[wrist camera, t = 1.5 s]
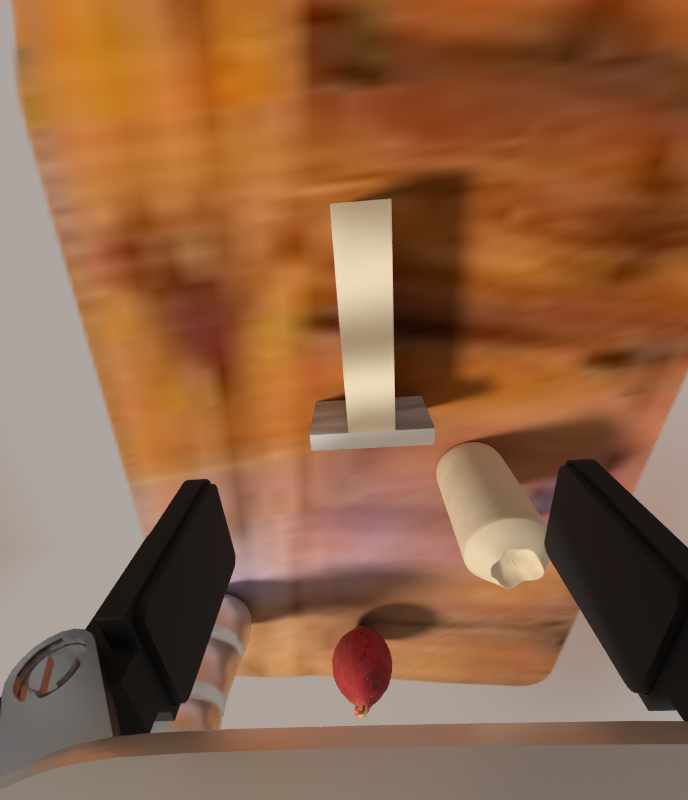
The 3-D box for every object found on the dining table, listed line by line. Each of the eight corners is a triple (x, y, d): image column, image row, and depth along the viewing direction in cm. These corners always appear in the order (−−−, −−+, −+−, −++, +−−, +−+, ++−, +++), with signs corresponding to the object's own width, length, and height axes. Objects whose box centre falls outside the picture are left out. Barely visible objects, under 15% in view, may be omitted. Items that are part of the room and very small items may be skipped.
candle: (513, 448, 30) (584, 546, 21) (487, 500, 32) (540, 609, 23) (448, 434, 29) (492, 528, 20) (426, 488, 31) (456, 594, 22)
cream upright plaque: (293, 211, 23) (279, 208, 18) (424, 200, 22) (443, 194, 18) (317, 415, 29) (311, 450, 24) (421, 409, 28) (434, 444, 24)
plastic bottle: (254, 585, 37) (162, 928, 19) (258, 628, 40) (181, 960, 22) (190, 582, 37) (37, 923, 19) (199, 625, 40) (73, 956, 22)
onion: (362, 601, 38) (364, 690, 31) (399, 626, 39) (410, 716, 32) (323, 626, 40) (317, 715, 32) (360, 649, 41) (362, 739, 34)
